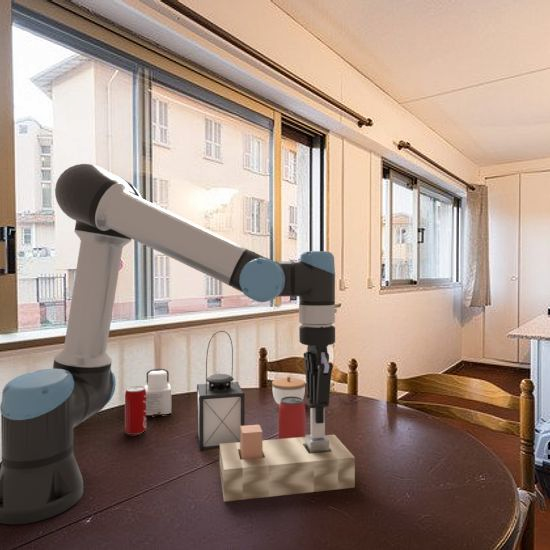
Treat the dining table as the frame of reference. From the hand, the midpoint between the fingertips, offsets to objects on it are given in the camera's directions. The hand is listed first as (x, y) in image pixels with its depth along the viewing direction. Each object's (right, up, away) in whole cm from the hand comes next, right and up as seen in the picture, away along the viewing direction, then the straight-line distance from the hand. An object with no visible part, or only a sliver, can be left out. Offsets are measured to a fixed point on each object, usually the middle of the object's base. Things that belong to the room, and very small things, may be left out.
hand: (317, 436), depth 87 cm
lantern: (-23, -9, +19) cm, 31 cm away
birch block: (-7, -8, -1) cm, 11 cm away
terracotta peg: (-14, -3, -3) cm, 14 cm away
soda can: (-47, -8, +24) cm, 53 cm away
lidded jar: (-5, -9, +46) cm, 48 cm away
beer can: (-5, -9, +14) cm, 17 cm away
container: (-45, -8, +40) cm, 61 cm away
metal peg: (0, -6, 0) cm, 6 cm away
